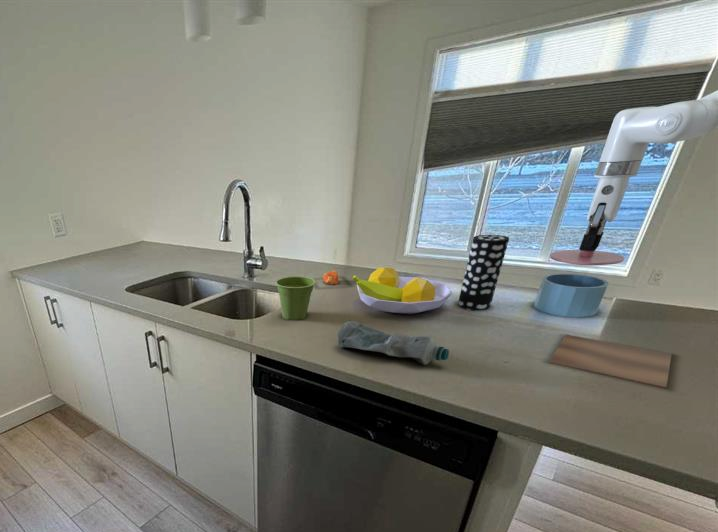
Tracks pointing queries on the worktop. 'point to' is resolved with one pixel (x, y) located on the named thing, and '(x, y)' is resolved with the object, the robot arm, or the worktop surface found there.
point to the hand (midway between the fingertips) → (588, 248)
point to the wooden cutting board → (614, 360)
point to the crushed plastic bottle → (390, 343)
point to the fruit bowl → (401, 292)
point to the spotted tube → (482, 271)
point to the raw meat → (331, 278)
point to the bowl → (570, 295)
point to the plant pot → (295, 296)
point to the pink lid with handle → (586, 257)
